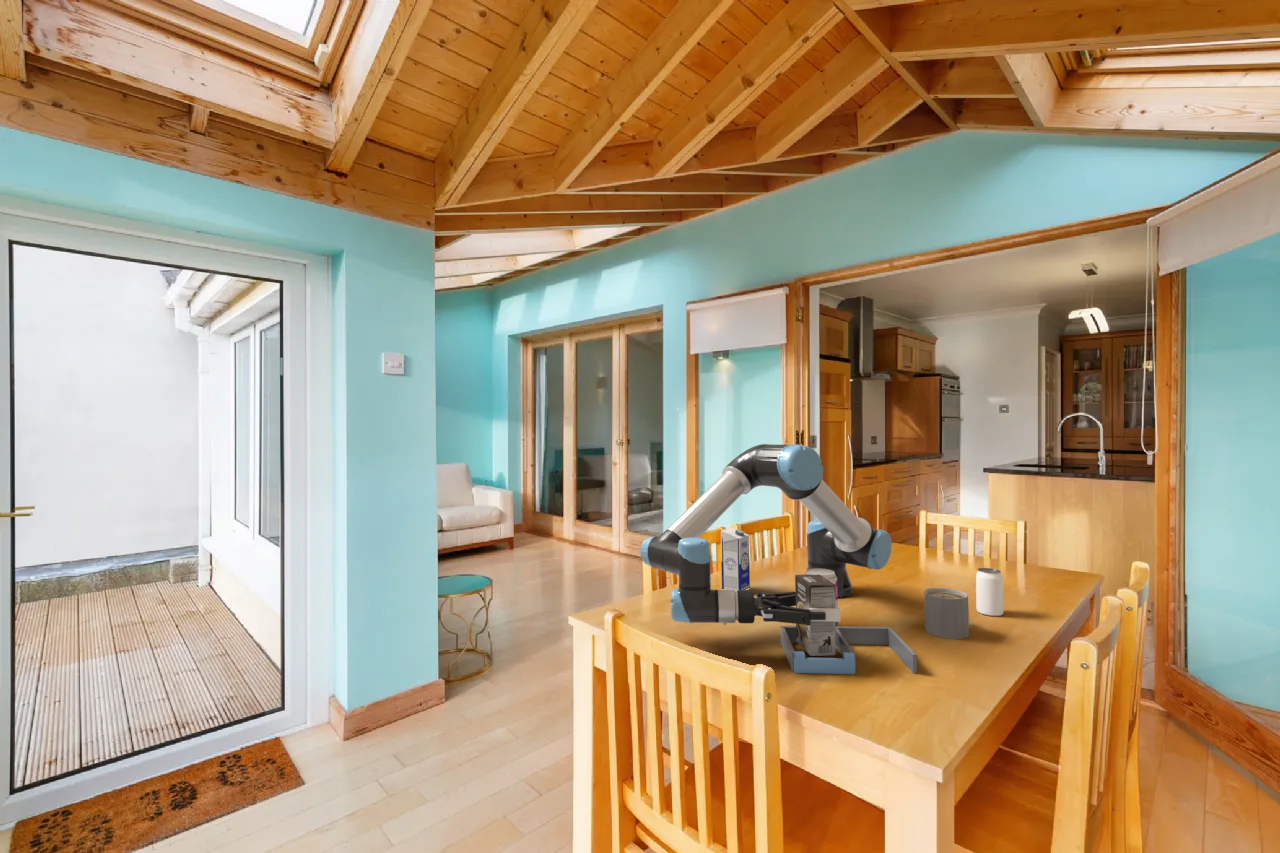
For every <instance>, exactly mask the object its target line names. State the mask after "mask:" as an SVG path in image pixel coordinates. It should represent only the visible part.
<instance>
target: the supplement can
mask: <svg viewBox="0 0 1280 853" xmlns="http://www.w3.org/2000/svg"><path fill="white" fill-rule="evenodd" d="M806 571H807V573H806V572H805V574H808V575H819V574H820V575H821V576H823V577H824V578H826V579H827V580H829V581H830V582H832V583H833V584H835V605H836V608H839V606H838V604H839V603H838V602H839V601H838V600H839V598H838V596H837V577H836V575H835V572H834V571H832V570H828V569H820V568H816V569H809V570H807V569H806ZM836 627H839V622H836Z"/></svg>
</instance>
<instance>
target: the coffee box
mask: <svg viewBox="0 0 1280 853" xmlns="http://www.w3.org/2000/svg"><path fill="white" fill-rule="evenodd" d="M794 581H795V582H794V584H795V591H794V592H795V593H796V606H795V608H801V609H808V610H810V609H809V608H836V605H835V584H833V583H832V582H830V581H829V580H827V579H826V578H824V577H823V576H821V575H820V574H819V575H808V574H806V573H805V574H795V575H794ZM795 626H796V642H797V643H798V645H799V646H800V647H801V648H802V649H803V650H804V652H806V653H807V655H808V656H810V657H817V656H818V657H820V656H821V657H823V656H836V655H837V654H836V653H837V652H836V651H837V648H836V622H834V621H811V625H809V626H808V625H803V624H795Z"/></svg>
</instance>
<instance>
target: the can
mask: <svg viewBox="0 0 1280 853" xmlns="http://www.w3.org/2000/svg"><path fill="white" fill-rule="evenodd" d="M1003 579H1004V578H1003V575H1002V572H1001V570H1000V569H997V568H991V567H980V568H977V571H976V574H975V595H976V596H975V598H976V599H975V600H976V601H975V603H976V607H975V609H976V611H977V613H978V612H979V613H978V614H980V615H982V616H986V615H987V616H989V617H1001V616H1003V614H1004V580H1003Z"/></svg>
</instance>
